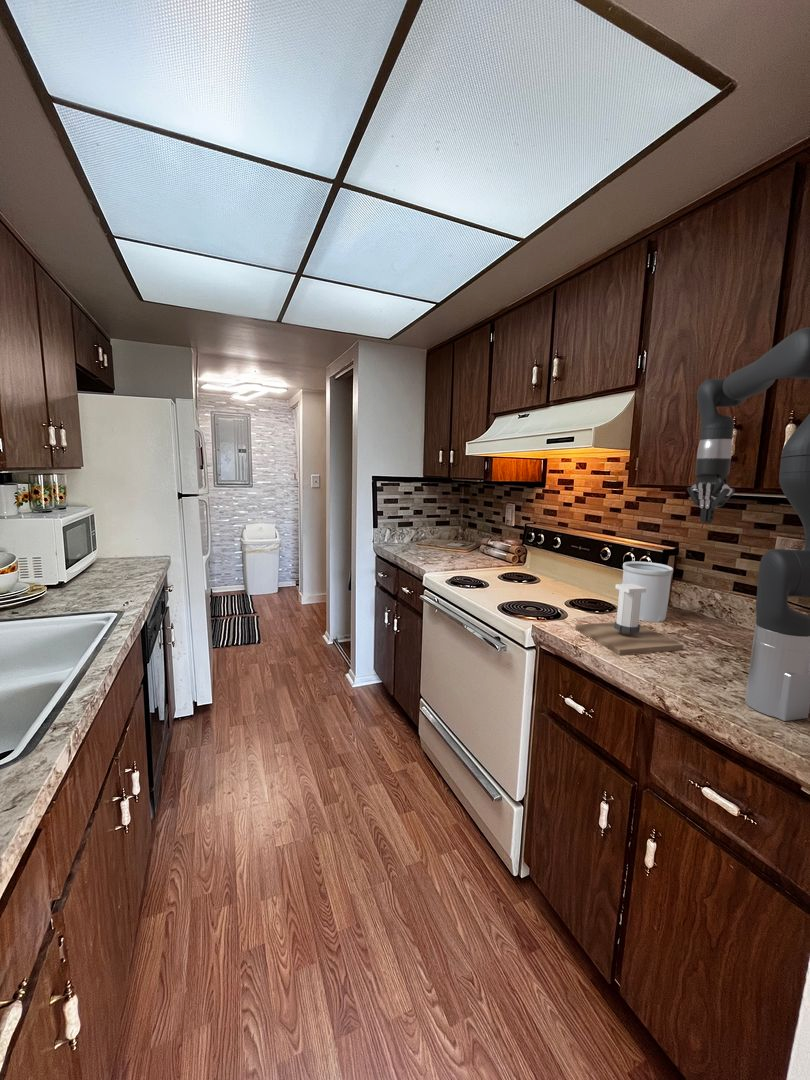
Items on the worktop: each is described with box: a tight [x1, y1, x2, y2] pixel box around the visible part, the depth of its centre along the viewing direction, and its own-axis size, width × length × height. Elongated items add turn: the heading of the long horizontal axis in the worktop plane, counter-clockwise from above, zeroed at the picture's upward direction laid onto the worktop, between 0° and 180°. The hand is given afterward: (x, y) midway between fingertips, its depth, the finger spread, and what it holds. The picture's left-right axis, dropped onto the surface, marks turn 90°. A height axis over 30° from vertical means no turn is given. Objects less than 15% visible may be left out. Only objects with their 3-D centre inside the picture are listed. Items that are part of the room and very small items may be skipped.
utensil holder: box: [621, 560, 674, 623], centre depth 151 cm, size 15×15×18 cm
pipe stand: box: [574, 621, 684, 656], centre depth 129 cm, size 20×20×14 cm
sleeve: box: [615, 583, 646, 627], centre depth 129 cm, size 6×6×11 cm
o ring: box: [614, 620, 641, 633], centre depth 130 cm, size 6×6×2 cm
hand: (706, 522), depth 121 cm, fingers closed
